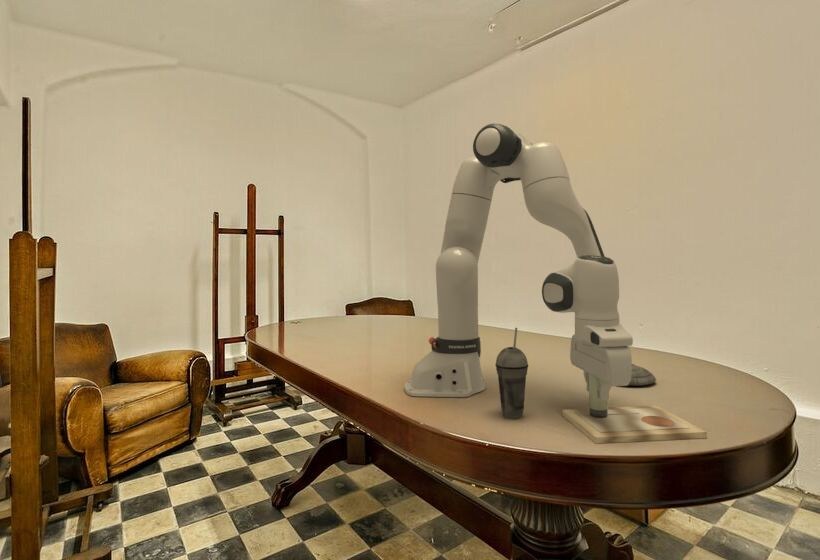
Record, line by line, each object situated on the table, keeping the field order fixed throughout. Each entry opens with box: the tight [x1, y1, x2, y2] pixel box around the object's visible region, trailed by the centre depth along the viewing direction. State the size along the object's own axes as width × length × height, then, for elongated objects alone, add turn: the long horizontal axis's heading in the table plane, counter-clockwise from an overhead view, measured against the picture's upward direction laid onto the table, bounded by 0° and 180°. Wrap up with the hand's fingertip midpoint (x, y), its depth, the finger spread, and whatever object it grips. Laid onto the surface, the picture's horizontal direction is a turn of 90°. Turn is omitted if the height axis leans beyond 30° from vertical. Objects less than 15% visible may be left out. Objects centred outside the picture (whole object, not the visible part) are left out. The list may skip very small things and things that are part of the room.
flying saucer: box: [627, 363, 657, 386], centre depth 127 cm, size 15×15×6 cm
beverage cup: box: [495, 327, 529, 420], centre depth 100 cm, size 7×7×20 cm
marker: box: [588, 374, 609, 417], centre depth 95 cm, size 4×4×11 cm
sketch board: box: [561, 405, 708, 444], centre depth 93 cm, size 22×16×2 cm
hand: (597, 395), depth 95 cm, fingers closed on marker, 4 cm apart
